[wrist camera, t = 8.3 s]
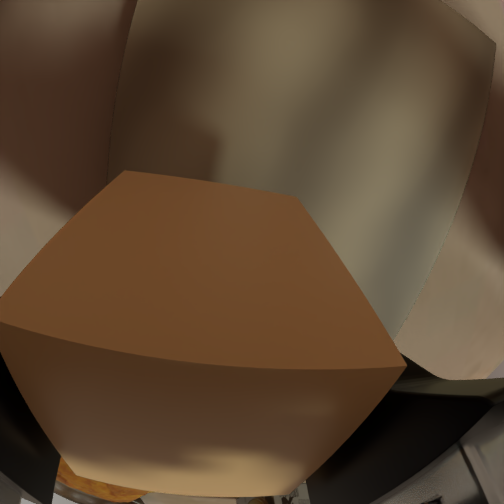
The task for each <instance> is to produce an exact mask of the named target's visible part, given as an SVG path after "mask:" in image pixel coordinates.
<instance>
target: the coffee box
mask: <svg viewBox="0 0 504 504" xmlns="http://www.w3.org/2000/svg"><path fill="white" fill-rule="evenodd" d="M236 502H237V504H310V500H309V495H308V490H307V485H306V483H302V484H301V485H299V486H298V487H297V488H296V489H295V490H294V491H292V492H291V493H290V494H287V495H275V496H258V497H240V498H238V499H236Z"/></svg>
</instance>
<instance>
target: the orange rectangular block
mask: <svg viewBox="0 0 504 504" xmlns="http://www.w3.org/2000/svg"><path fill="white" fill-rule="evenodd" d="M0 352H1V355H2V357H3V359H4V361H5V363H6V365H7V367H8V370H9V372H10V374H11V376H12V378H13V380H14V381H15V383H16V385H17V387H18V389H19V391H20V393H21V395H22V396H23V398H24V400H25V402H26V403H27V405H28V407H29V409H30V410H31V412H32V414H33V415H34V417H35V418H36V420H37V422H38V423H39V425H40V426H41V428H42V429H43V431H44V432H45V434H46V435H47V437H48V438H49V440H50V441H51V443H52V444H53V445H54V447H55V448H56V450H57V451H58V452H59V454H60V455H61V456H62V458H63V459H64V460H65V462H66V463H67V464H68V466H69V467H70V468H71V469H72V471H73V472H74V473H75V474H76V475H77V476H81V477H84V478H88V479H92V480H96V481H100V482H104V483H108V484H113V485H118V486H123V487H128V488H133V489H139V490H145V491H152V492H160V493H168V494H178V495H189V496H206V497H258V496H275V495H287V494H290V493H291V492H292V491H294V490H295V489H296V488H297V487H298V486H299V485H301V484H302V483H303V482H304V481H305V480H306V479H307V478H308V477H309V476H311V475H312V474H313V473H314V472H315V471H316V470H317V469H318V468H319V467H320V466H321V465H322V464H323V463H324V462H325V461H326V460H327V459H329V458H330V457H331V456H332V455H333V454H334V453H335V452H336V450H337V449H338V448H339V447H340V446H341V445H342V444H343V443H344V442H345V441H346V440H347V439H348V438H349V437H350V436H351V435H352V434H353V433H354V431H355V430H356V429H357V428H358V427H359V426H360V425H361V424H362V422H363V421H364V420H365V419H366V418H367V417H368V416H369V414H370V413H371V412H372V411H373V410H374V408H375V407H376V406H377V405H378V404H379V402H380V401H381V400H382V399H383V397H384V396H385V395H386V394H387V392H388V391H389V390H390V388H391V387H392V386H393V385H394V383H395V382H396V381H397V379H398V378H399V377H400V375H401V374H402V372H403V371H404V370H405V368H406V367H407V364H406V363H405V361H404V359H403V357H402V356H401V354H400V352H399V351H398V349H397V347H396V345H395V344H394V342H393V340H392V339H391V337H390V335H389V334H388V332H387V330H386V329H385V327H384V326H383V324H382V322H381V321H380V319H379V317H378V316H377V314H376V313H375V311H374V309H373V308H372V306H371V305H370V303H369V302H368V300H367V298H366V297H365V295H364V294H363V292H362V291H361V289H360V288H359V286H358V285H357V283H356V281H355V280H354V278H353V277H352V275H351V274H350V272H349V271H348V269H347V268H346V266H345V265H344V263H343V262H342V260H341V259H340V257H339V256H338V255H337V253H336V252H335V250H334V249H333V247H332V246H331V244H330V243H329V241H328V240H327V239H326V237H325V236H324V234H323V233H322V231H321V230H320V229H319V227H318V226H317V224H316V223H315V222H314V220H313V219H312V217H311V216H310V215H309V213H308V212H307V210H306V209H305V208H304V206H303V205H302V204H301V202H300V201H299V199H298V198H297V197H295V196H290V195H285V194H279V193H274V192H269V191H263V190H258V189H252V188H246V187H240V186H234V185H228V184H222V183H216V182H209V181H203V180H196V179H189V178H182V177H175V176H167V175H160V174H152V173H144V172H135V171H126V170H125V171H123V172H122V173H121V174H120V175H119V176H117V177H116V178H115V179H114V180H113V181H112V182H110V183H109V184H108V185H107V186H106V187H105V188H104V189H102V190H101V191H100V192H99V193H98V194H97V195H96V196H95V197H94V198H92V199H91V200H90V201H89V202H88V203H87V204H86V205H85V206H84V207H83V208H82V209H81V210H80V211H79V212H78V213H77V214H75V215H74V216H73V217H72V218H71V219H70V220H69V221H68V222H67V223H66V224H65V225H64V226H63V227H62V228H61V229H60V230H59V231H58V232H57V233H56V234H55V235H54V237H53V238H52V239H51V240H50V241H49V242H48V243H47V244H46V245H45V246H44V247H43V248H42V249H41V250H40V251H39V253H38V254H37V255H36V256H35V257H34V258H33V259H32V260H31V261H30V263H29V264H28V265H27V266H26V267H25V268H24V270H23V271H22V272H21V273H20V274H19V275H18V277H17V278H16V279H15V280H14V281H13V283H12V284H11V285H10V286H9V288H8V289H7V290H6V291H5V293H4V294H3V295H2V296H1V298H0Z"/></svg>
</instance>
